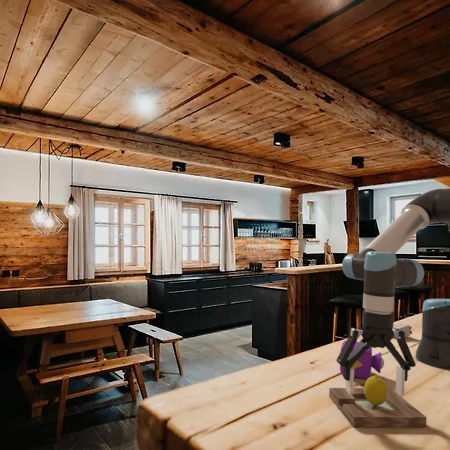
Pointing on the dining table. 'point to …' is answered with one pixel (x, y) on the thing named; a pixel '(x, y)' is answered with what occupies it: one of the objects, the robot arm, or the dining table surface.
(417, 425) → the pocket board
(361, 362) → the toy camera
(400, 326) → the electrical component
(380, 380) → the lemon
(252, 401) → the dining table surface
